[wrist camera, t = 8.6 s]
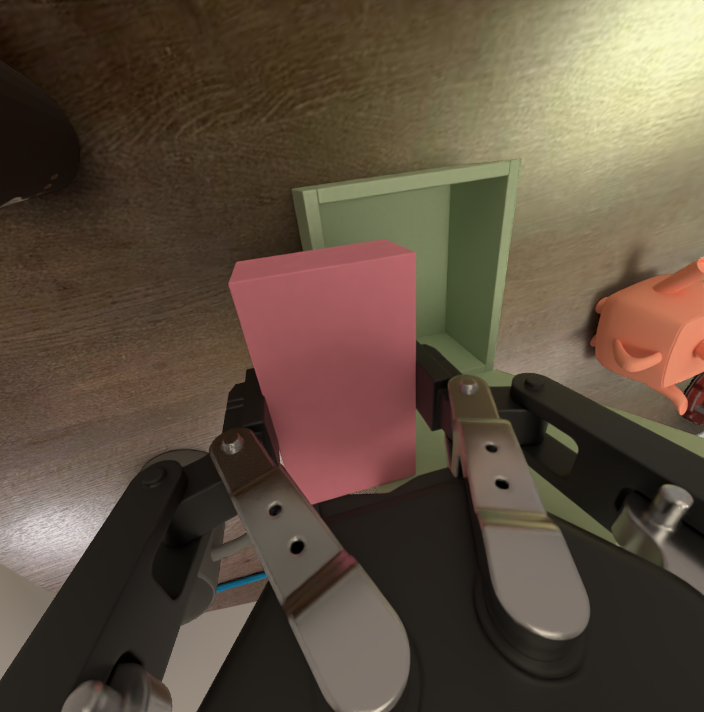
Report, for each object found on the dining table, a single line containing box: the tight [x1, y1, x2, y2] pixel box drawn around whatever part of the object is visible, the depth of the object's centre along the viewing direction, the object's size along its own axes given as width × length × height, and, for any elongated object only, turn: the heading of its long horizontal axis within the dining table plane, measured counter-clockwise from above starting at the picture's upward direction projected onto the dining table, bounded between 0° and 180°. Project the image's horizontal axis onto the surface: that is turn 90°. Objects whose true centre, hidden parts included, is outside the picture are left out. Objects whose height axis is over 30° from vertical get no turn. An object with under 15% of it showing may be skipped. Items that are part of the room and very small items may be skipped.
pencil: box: [216, 572, 268, 593], centre depth 44 cm, size 1×17×1 cm, turn 94°
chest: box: [291, 159, 521, 375], centre depth 25 cm, size 16×14×8 cm
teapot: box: [590, 257, 704, 415], centre depth 34 cm, size 14×12×10 cm
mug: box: [141, 450, 252, 626], centre depth 29 cm, size 14×9×12 cm
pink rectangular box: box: [228, 239, 416, 505], centre depth 13 cm, size 10×6×3 cm, turn 6°
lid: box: [375, 369, 704, 546], centre depth 18 cm, size 16×14×5 cm
